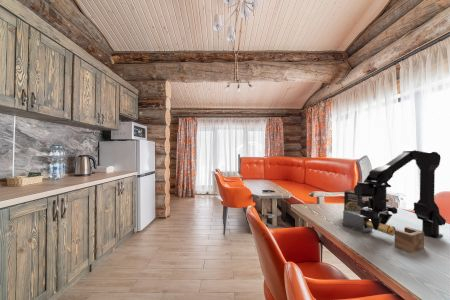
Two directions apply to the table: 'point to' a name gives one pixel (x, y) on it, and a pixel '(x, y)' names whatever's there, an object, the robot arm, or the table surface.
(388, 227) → the tube
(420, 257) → the table surface
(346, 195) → the coffee box
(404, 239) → the socket cradle
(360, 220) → the sleeve
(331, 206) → the table surface
